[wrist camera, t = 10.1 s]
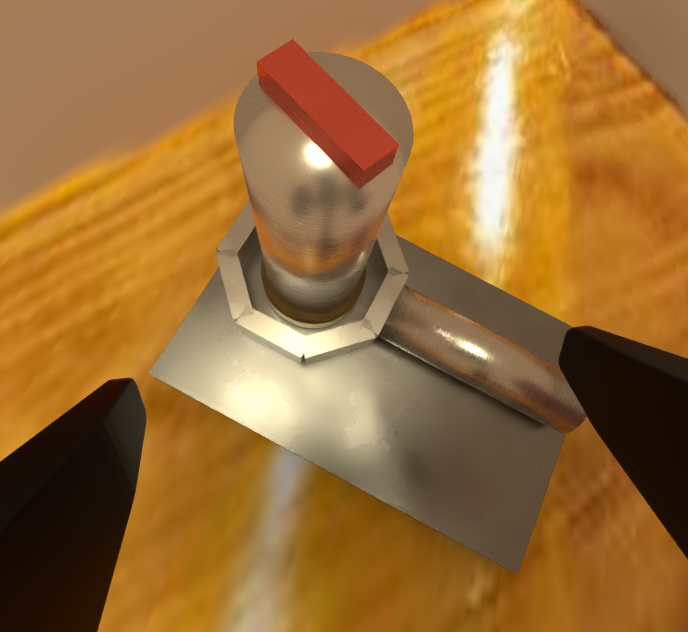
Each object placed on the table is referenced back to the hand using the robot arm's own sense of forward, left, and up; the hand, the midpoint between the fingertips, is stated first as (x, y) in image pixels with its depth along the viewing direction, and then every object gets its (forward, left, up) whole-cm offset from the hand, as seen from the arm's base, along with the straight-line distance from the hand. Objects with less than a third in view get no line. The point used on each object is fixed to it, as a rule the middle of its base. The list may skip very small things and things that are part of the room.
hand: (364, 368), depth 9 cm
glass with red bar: (+4, -5, -13) cm, 15 cm away
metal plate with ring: (-2, -4, -15) cm, 15 cm away
